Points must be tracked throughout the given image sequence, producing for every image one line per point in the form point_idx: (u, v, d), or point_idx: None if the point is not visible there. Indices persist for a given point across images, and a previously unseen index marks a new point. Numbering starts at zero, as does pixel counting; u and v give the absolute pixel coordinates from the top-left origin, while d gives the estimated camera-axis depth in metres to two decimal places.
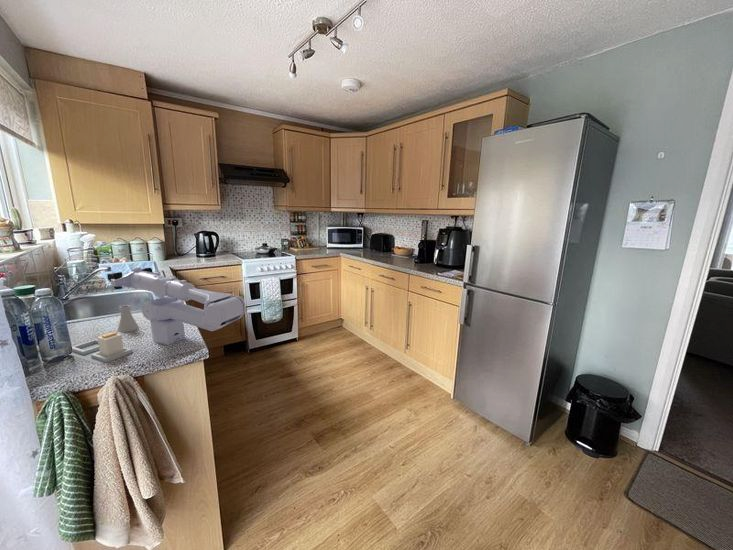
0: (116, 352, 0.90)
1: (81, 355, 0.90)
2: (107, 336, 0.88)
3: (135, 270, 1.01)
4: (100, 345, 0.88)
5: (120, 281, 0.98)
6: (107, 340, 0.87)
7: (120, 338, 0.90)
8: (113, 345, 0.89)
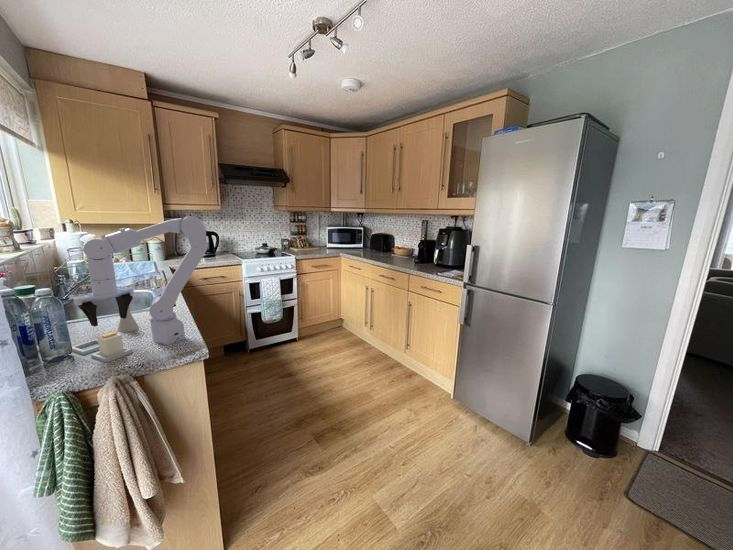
0: (116, 352, 0.90)
1: (81, 355, 0.90)
2: (107, 336, 0.88)
3: None
4: (100, 345, 0.88)
5: None
6: (107, 340, 0.87)
7: (120, 338, 0.90)
8: (113, 345, 0.89)
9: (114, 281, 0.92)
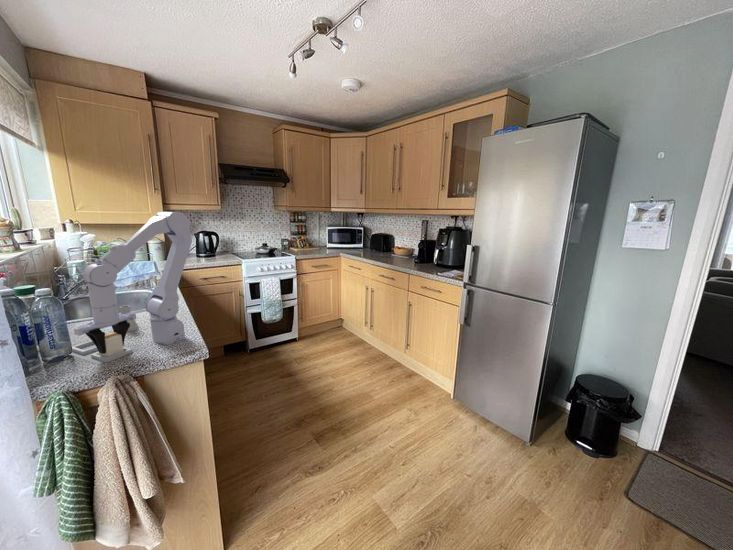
0: (116, 352, 0.90)
1: (81, 355, 0.90)
2: (107, 336, 0.88)
3: None
4: None
5: None
6: (107, 340, 0.87)
7: (120, 338, 0.90)
8: (113, 345, 0.89)
9: (116, 308, 0.88)
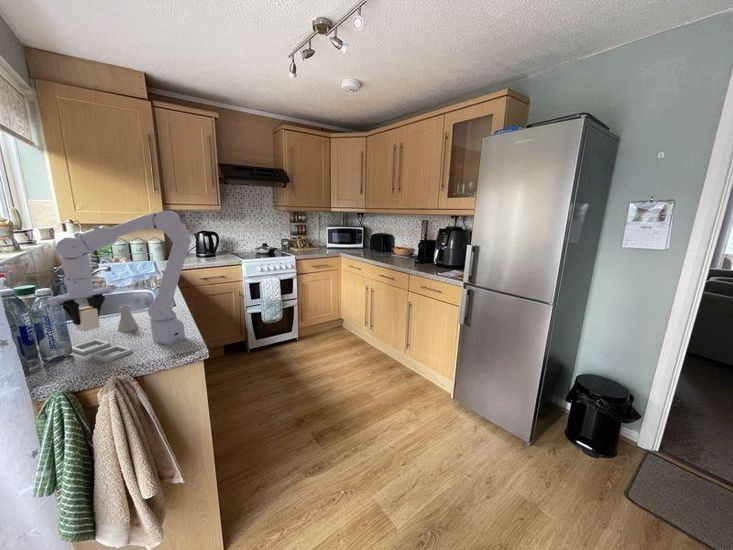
0: (91, 325, 0.92)
1: (81, 355, 0.90)
2: (83, 309, 0.90)
3: None
4: None
5: None
6: (82, 313, 0.89)
7: (96, 312, 0.93)
8: (89, 318, 0.91)
9: (91, 280, 0.91)
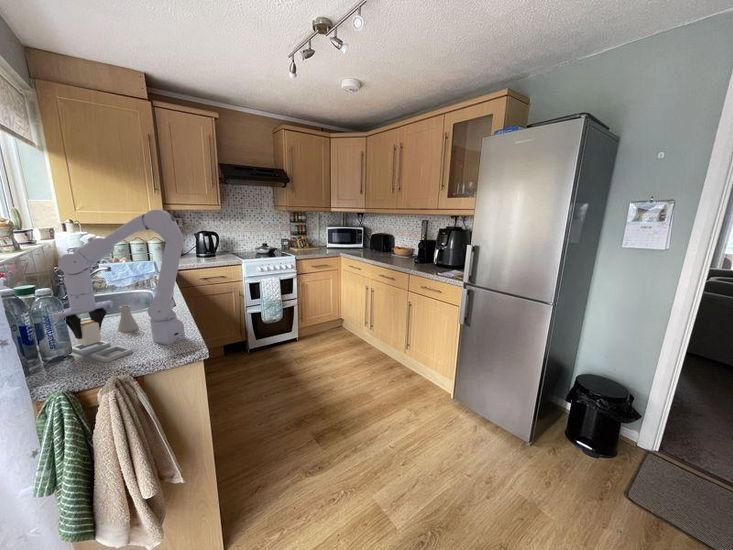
0: (93, 339, 0.93)
1: (81, 355, 0.90)
2: (84, 324, 0.92)
3: None
4: None
5: None
6: (84, 327, 0.91)
7: (98, 326, 0.94)
8: (90, 332, 0.92)
9: (92, 295, 0.92)
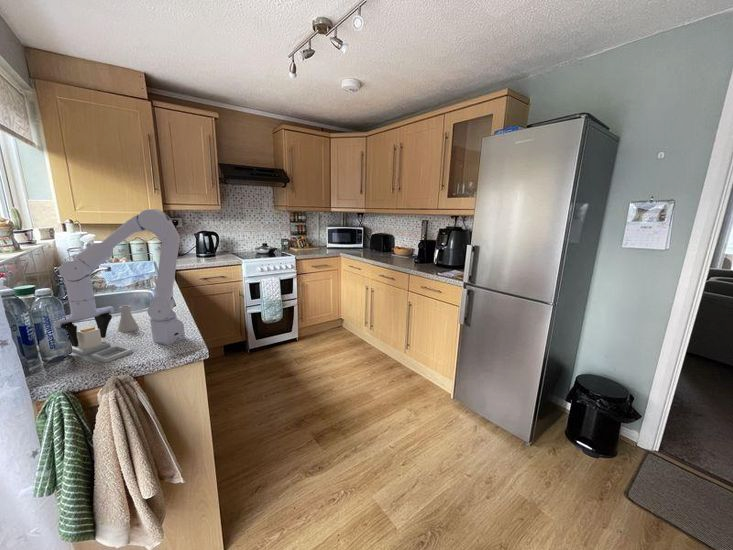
0: (94, 345, 0.94)
1: (81, 355, 0.90)
2: (85, 330, 0.92)
3: None
4: (79, 339, 0.92)
5: None
6: (85, 334, 0.91)
7: (99, 332, 0.94)
8: (92, 339, 0.93)
9: (93, 301, 0.92)
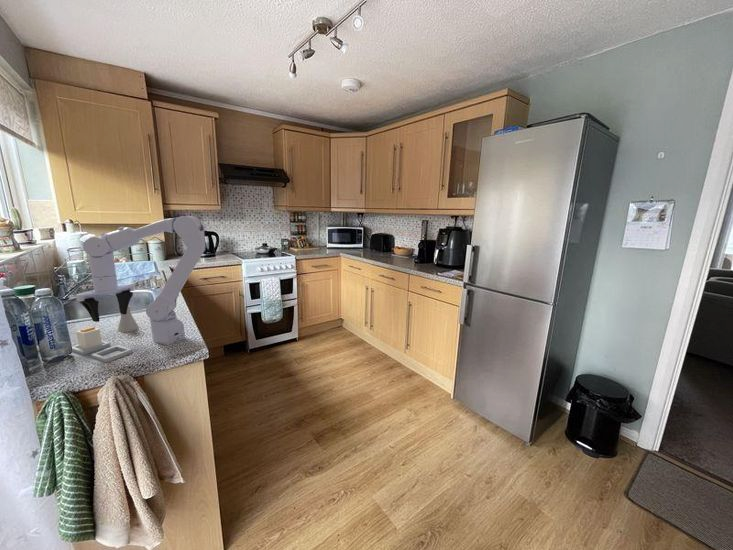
0: (94, 345, 0.94)
1: (81, 355, 0.90)
2: (85, 330, 0.92)
3: None
4: (79, 339, 0.92)
5: None
6: (85, 334, 0.91)
7: (99, 332, 0.94)
8: (92, 339, 0.93)
9: (115, 278, 0.95)
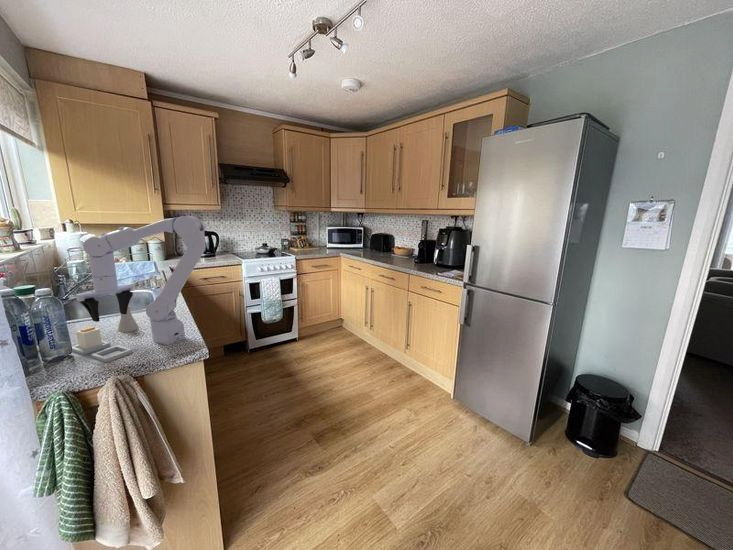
0: (94, 345, 0.94)
1: (81, 355, 0.90)
2: (85, 330, 0.92)
3: None
4: (79, 339, 0.92)
5: None
6: (85, 334, 0.91)
7: (99, 332, 0.94)
8: (92, 339, 0.93)
9: (115, 278, 0.95)
